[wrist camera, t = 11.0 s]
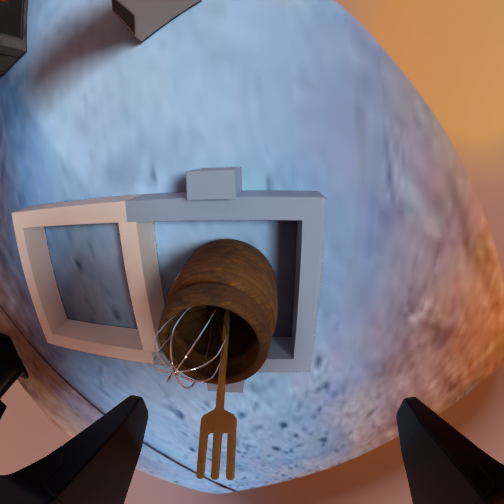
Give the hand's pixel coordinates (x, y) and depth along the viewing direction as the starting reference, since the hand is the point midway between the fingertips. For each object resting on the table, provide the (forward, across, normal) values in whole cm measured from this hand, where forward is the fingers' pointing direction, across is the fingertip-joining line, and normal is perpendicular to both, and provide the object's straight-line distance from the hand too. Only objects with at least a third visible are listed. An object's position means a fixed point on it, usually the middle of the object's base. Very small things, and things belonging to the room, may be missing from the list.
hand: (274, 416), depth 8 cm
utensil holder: (+11, +3, 0) cm, 11 cm away
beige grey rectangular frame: (+11, +8, 0) cm, 14 cm away
